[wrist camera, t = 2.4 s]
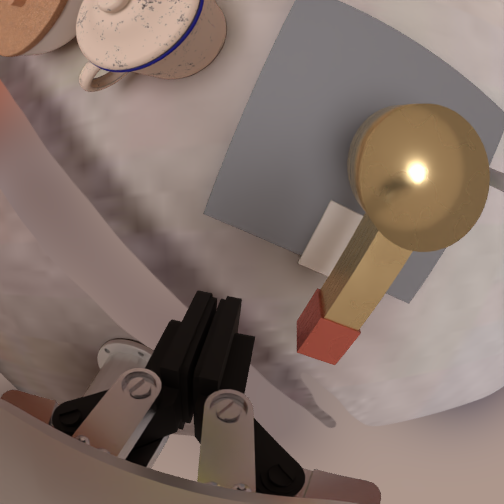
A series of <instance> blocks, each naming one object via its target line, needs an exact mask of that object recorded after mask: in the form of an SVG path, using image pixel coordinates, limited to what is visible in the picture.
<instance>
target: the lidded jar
mask: <svg viewBox="0 0 504 504" xmlns="http://www.w3.org/2000/svg"><path fill="white" fill-rule="evenodd" d="M82 2H83V0H0V55H1V56H6V57H13V56H30V55H39V54H44V53H47V52H51V51H53V50H55V49H58V48H60V47H61V46H63V45H65V44H66V43H68V42H69V41H70V40H72V39H73V38H74V37H75V36H76V22H77V16H78V13H79V10H80V7H81V4H82Z"/></svg>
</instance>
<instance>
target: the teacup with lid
mask: <svg viewBox="0 0 504 504" xmlns="http://www.w3.org/2000/svg"><path fill="white" fill-rule="evenodd" d="M76 36H77V41H78V44H79V47H80V49H81V51H82V53H83V54H84V56H85V57H86V58H87V59H88V60H89V61H88V63H87V64H86V65H85V66H84V68H83V69H82V71H81V73H80V76H79V83H80V85H81V87H82V88H83V89H84V90H85V91H88V92H95V91H99V90H102V89H105V88H107V87H109V86H111V85H113V84H115V83H116V82H118V81H119V80H120V79H122V78H123V77H124V76H125V75H126V74H127V73H128V72H135V73H140V74H144V75H149V76H153V77H158V78H162V79H179V78H184V77H187V76H190V75H192V74H195V73H197V72H198V71H200V70H202V69H203V68H205V67H206V66H207V65H208V64H209V63H210V62H211V61H212V60H213V59H214V58H215V57H216V56H217V54H218V53H219V51H220V50H221V48H222V46H223V43H224V40H225V36H226V21H225V17H224V15H223V13H222V11H221V9H220V8H219V6H218V5H217V4H216V2H215V1H214V0H83V2H82V4H81V7H80V10H79V13H78V16H77V22H76ZM100 69H103V70H106V71H110V72H108V73H107V74H105V75H103V76H100V77H98V78H94V76H95V75H96V74H97V72H98V71H99V70H100ZM93 78H94V79H93Z"/></svg>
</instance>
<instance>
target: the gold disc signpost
mask: <svg viewBox="0 0 504 504" xmlns="http://www.w3.org/2000/svg"><path fill="white" fill-rule="evenodd" d="M347 171H348V179H349V183H350V187H351V189H352V192H353V194H354V196H355V198H356V200H357V202H358V203H359V204H360V206H361V207H362V208H363V210H364V211H365V214H364V216H363V218H362V220H361V221H360V223H359V225H358V227H357V229H356V230H355V232H354V234H353V236H352V238H351V239H350V241H349V243H348V245H347V246H346V248H345V250H344V251H343V253H342V255H341V257H340V258H339V260H338V262H337V263H336V265H335V267H334V268H333V270H332V272H331V273H330V275H329V277H328V278H327V280H326V282H325V283H324V285H323V287H322V288H321V290H320V289H318V288H317V290H316V291H315V293H314V295H313V296H312V298H311V300H310V301H309V303H308V304H307V306H306V308H305V309H304V311H303V312H302V314H301V315H300V317H299V319H298V320H297V353H300V354H303V355H306V356H309V357H312V358H315V359H318V360H321V361H324V362H327V363H330V364H333V365H335V364H336V363H337V362H338V361H339V360H340V358H341V357H342V356H343V355H344V354H345V352H346V351H347V350H348V349H349V347H350V346H351V345H352V344H353V342H354V341H355V340H356V339H357V337H358V336H359V335H360V333H361V331H360V328H361V326H362V325H363V324H364V322H365V321H366V320H367V318H368V317H369V315H370V314H371V313H372V311H373V310H374V309H375V307H376V306H377V304H378V303H379V302H380V300H381V299H382V297H383V296H384V294H385V293H386V292H387V290H388V289H389V287H390V286H391V284H392V283H393V281H394V280H395V278H396V277H397V275H398V274H399V272H400V271H401V269H402V268H403V266H404V264H405V263H406V261H407V260H408V258H409V257H410V255H411V253H412V252H413V251H416V252H431V251H437V250H440V249H444V248H446V247H448V246H450V245H452V244H454V243H455V242H457V241H459V240H460V239H461V238H462V237H464V236H465V235H466V234H467V233H468V232H469V231H470V230H471V228H472V227H473V226H474V224H475V223H476V222H477V220H478V218H479V217H480V215H481V213H482V211H483V208H484V206H485V203H486V200H487V196H488V191H489V183H490V171H489V162H488V158H487V154H486V151H485V148H484V145H483V143H482V141H481V139H480V137H479V135H478V134H477V132H476V131H475V129H474V128H473V127H472V126H471V124H470V123H469V122H468V121H467V120H466V119H465V118H463V117H462V116H461V115H459V114H458V113H457V112H455V111H453V110H451V109H449V108H447V107H444V106H441V105H436V104H403V105H394V106H389V107H386V108H383V109H381V110H379V111H377V112H375V113H374V114H372V115H371V116H370V117H368V118H367V119H366V120H365V121H364V122H363V123H362V125H361V126H360V127H359V128H358V130H357V132H356V133H355V135H354V137H353V140H352V142H351V145H350V148H349V152H348V160H347Z"/></svg>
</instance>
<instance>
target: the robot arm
mask: <svg viewBox="0 0 504 504" xmlns="http://www.w3.org/2000/svg"><path fill="white" fill-rule="evenodd" d="M241 302H242V299H239V298H234V297H229V296H227V298H226V300H224V299H221V300H220V303H219V305H218V308H217V298H213V295H212V293H208V292H203V291H197V293H196V294H195V296H194V298H193V300H192V302H191V304H190V306H189V308H188V310H187V312H186V314H185V316H184V319H183V320H182V322H180V321H176V320H171V321H170V322H169V323H168V326H167V327H166V329H165V331H164V333H163V335H162V337H161V338H160V340H159V342H158V344H157V346H156V348H155V350H152V349H150V348H148V347H146V346H144V345H142V344H140V343H137V342H134V341H130V340H124V339H115V340H111V341H108V342H106V343H105V344H104V345H103V346H102V347H101V349H100V350H99V352H98V355H97V361H98V365H99V368H100V371H99V372H98V374H97V375H96V377H95V379H94V380H93V382H92V383H91V385H90V387H89V388H88V390H87V391H86V393H85V395H84V396H83V397H81V398H78V399H74V400H71V401H67V402H64V403H62V404H58V403H57V401H56V400H52V399H48V398H44V397H40V396H36V395H33V394H29V393H26V392H22V391H19V390H9V391H6V392H5V393H4V394H3V395H2V396H1V398H0V504H380V501H381V492H380V490H379V488H378V487H377V486H376V485H375V484H374V483H372V482H369V481H366V480H361V479H355V478H350V477H346V476H341V475H336V474H332V473H328V472H324V471H320V470H316V469H314V470H313V471H311V470H307V469H304V468H302V467H301V466H300V465H299V464H298V463H297V462H296V461H295V460H294V459H293V458H292V457H291V456H290V455H289V454H288V453H287V452H286V451H285V450H284V449H283V448H282V447H281V446H280V445H279V444H278V443H277V442H276V441H275V440H274V439H273V438H272V437H271V435H270V434H269V433H268V432H267V431H266V430H265V429H264V428H263V427H262V426H261V425H260V424H259V423H258V422H257V421H256V420H255V418H254V413H253V405H252V403H251V401H250V400H249V398H248V397H246V395H244V392H245V387H246V382H247V377H248V372H249V366H250V362H251V356H252V351H253V345H254V340H255V336H249V335H244V334H238V333H237V332H238V325H239V317H240V310H241ZM216 309H217V311H216ZM193 414H194V427H195V437H196V438H197V440H198V441H199V443H200V444H201V446H200V457H199V468H198V481H197V482H196V481H191V480H187V479H184V478H180V477H176V476H173V475H169V474H165V473H162V472H159V471H156V470H153V469H151V468H152V466H153V464H154V462H155V461H156V459H157V458H158V456H159V454H160V452H161V451H162V449H163V447H164V445H165V443H166V442H167V440H168V438H169V435H170V434H173V433H175V432H177V430H178V428H179V429H182V430H183V427H184V424H185V422H186V423H190V422H191V420H192V417H193Z"/></svg>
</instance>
